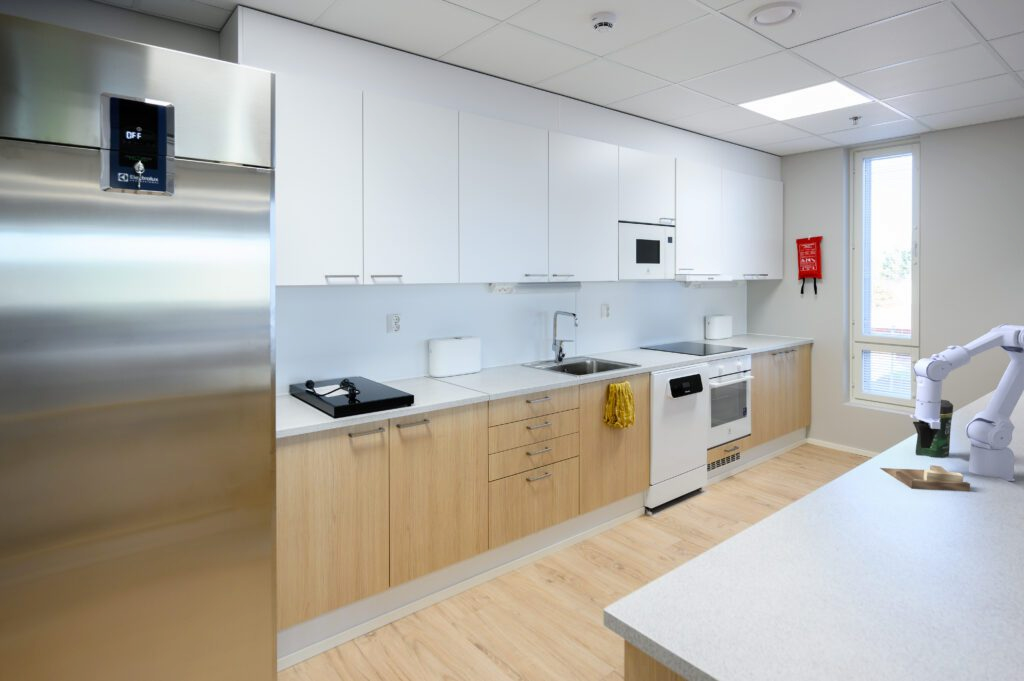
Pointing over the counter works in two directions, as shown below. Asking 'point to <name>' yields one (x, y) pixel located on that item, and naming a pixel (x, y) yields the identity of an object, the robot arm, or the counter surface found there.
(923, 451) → the coffee jar
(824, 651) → the counter surface
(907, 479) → the board
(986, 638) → the counter surface
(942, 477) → the t block
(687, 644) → the counter surface
